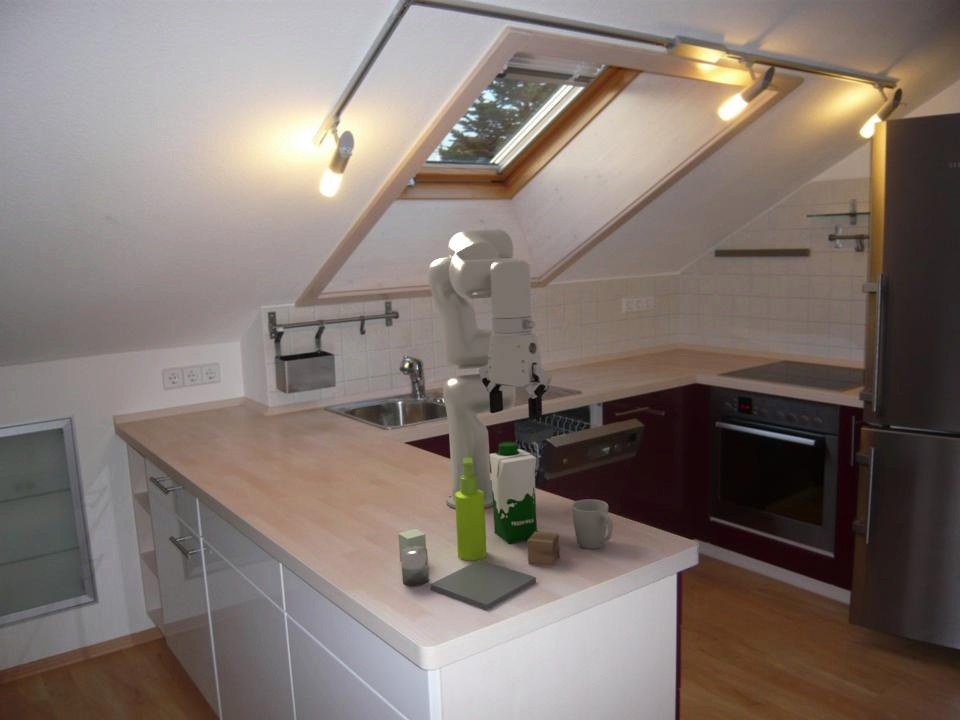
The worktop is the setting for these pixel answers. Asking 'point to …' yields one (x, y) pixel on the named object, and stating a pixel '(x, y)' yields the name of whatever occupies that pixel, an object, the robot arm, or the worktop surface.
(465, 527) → the lime spray bottle
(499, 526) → the milk carton
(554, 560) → the walnut block
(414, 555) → the metal tin
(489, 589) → the plate
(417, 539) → the pale green box
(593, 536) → the cup
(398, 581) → the worktop surface
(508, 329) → the robot arm
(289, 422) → the worktop surface
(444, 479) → the worktop surface
